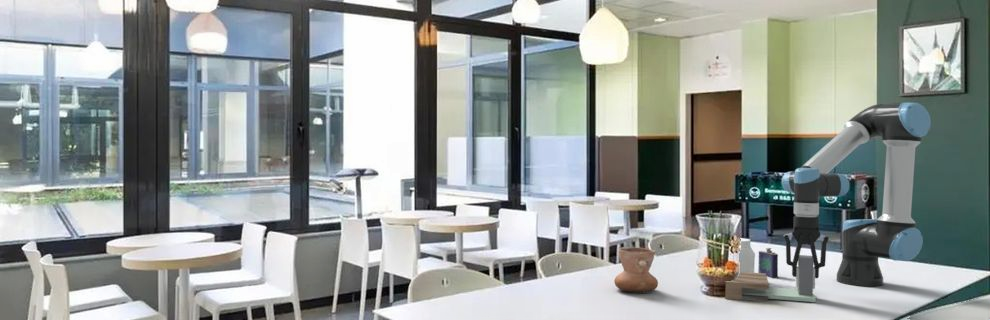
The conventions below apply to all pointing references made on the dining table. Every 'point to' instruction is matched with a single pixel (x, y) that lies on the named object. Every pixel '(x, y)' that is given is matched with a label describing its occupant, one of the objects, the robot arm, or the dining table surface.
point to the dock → (746, 286)
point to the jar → (746, 256)
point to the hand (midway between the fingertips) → (805, 287)
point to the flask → (768, 263)
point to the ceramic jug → (636, 270)
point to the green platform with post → (791, 294)
